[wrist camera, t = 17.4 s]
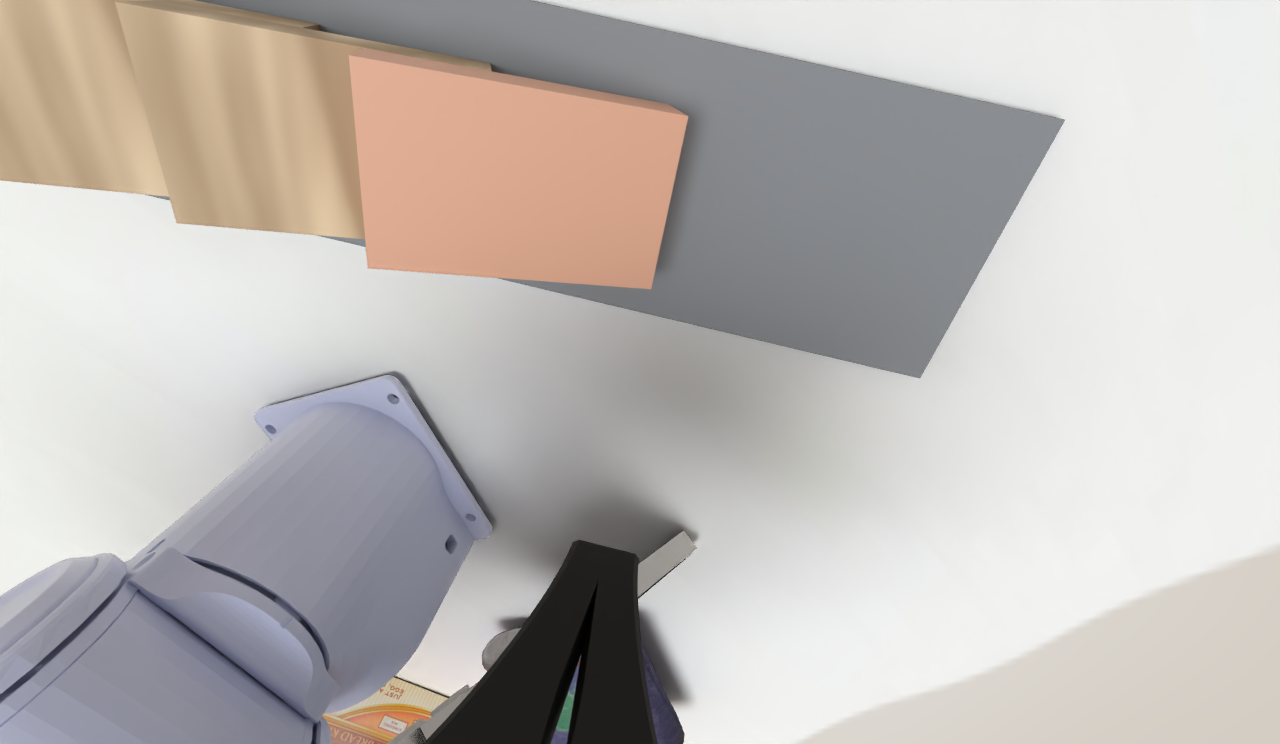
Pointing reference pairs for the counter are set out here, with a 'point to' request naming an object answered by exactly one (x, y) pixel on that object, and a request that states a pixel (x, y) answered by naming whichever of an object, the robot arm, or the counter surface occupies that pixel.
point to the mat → (764, 173)
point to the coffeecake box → (383, 714)
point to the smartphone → (648, 576)
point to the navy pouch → (661, 708)
